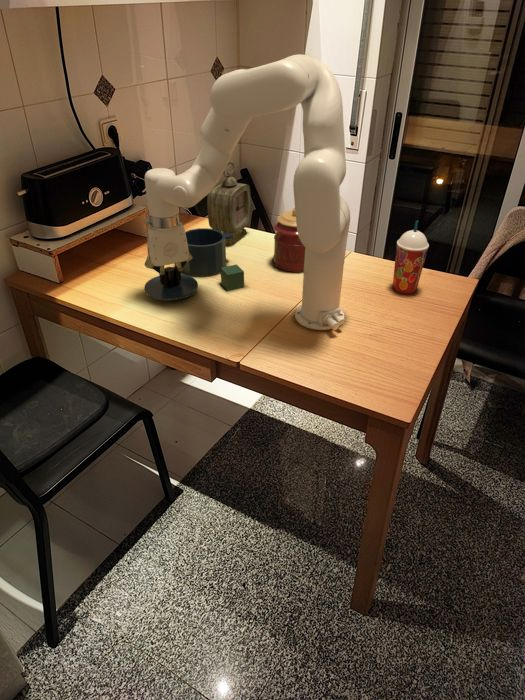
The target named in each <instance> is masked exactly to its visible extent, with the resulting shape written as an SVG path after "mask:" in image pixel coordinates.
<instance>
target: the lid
mask: <svg viewBox="0 0 525 700" xmlns="http://www.w3.org/2000/svg"><path fill="white" fill-rule="evenodd" d="M174 267H175V266H174ZM174 267H173V266H167V267H164V269H165V273H166V275H167V282H168V287H167V288H165V287H164V285H163V284H161V283H160V276H159V275H157V276H154V277H152V278H150V279H149V280H147V281H146V282H145V284H144V286H143V287H144V293H145V294H146V295H147V296H148V297H150V298H152V299H155V300H159V301H177V300H182V299H185V298H188V297H190V296H192V295H194V294H195V293H196V292H197V290H198V289H199V282H198V281H197V279H196V278H194V276H192V275H189V274H185V273H184V274H183V273H181V281H180V285H177V284H176V276H175V268H174Z"/></svg>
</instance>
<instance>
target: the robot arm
mask: <svg viewBox="0 0 525 700" xmlns="http://www.w3.org/2000/svg"><path fill="white" fill-rule="evenodd" d="M209 99H210V105H211V107H210V109H209V111H208V112H207V115H206V117H205V119H204V121H203V122H202V125H201V127H200V130H199V131H200V132H199V134H200V136H201V139H203V142H202V145H201V148H200V150H199V153H198V154H197V156H196V158H195V160H194V162H193V163H192V165H191V166H190V168H188V169H187V170H185V171H183V172H182V173H180V174H176V173H175V171H174V170H173V169H170V168H166V167H155V168H151V169H149V170H147V171H146V172H145V174H144V184H145V193H146V194H145V195H146V202H147V209H148V213H147V217H143V223H144V224H145V225H147V224H148V225H147V231H146V232H147V233H146V247H147V250H146V251H147V256H146V258H145V262H144V267H145V268H147V269H150V270H154V271H155V272H157V273H158V274H159V275H158V276H160V283H161V284H163V285H164V287H165V288H167V287H168V282H167V275H166V273H165V266H169V265H174V268H175V276H176V284H177V285H180V281H181V274H182V272H183V271H182V268H183V267H184V265H185V264H186V263H187V262H188V261H190V260H191V259H192V256H191V254H190V253H189V250H188V243H187V238H186V233H185V232H186V228H185V225H184V223H183V222H182V221H181V220H180V208H182V209H190V208H192V207H194V206H196V205H197V204H198V203H200V202H201V201H202V200H203V199H205V197H208V194H209V193H210V192H211V191H212V190H213V188H214V187H216V186H217V184H218V183H219V180H220V179H221V177H222V175H224V174H223V172H224V170H225V171H226V168H227V167H228V166H229V165H228V162H230V159H231V158H232V156H233V153H234V150H235V148H236V146H237V144H238V142H239V141H240V139H241V138H242V136H243V135H244V133H245V131H246V129H247V128H248V126H249V125H250V122H251V121H252V119H253V118H257V117H261V116H265V115H271V114H275V113H279V112H284V111H287V110H290V109H293V108H295V107H297V106H299V105H300V106H301V108H302V135H303V151H304V153H303V159H301V161H300V162H299V163H298V164H297V166H296V169H295V171H294V175H293V185H292V187H293V200H294V208H295V213H296V225H297V232H298V236H299V239H300V241H301V242H302V244H303V245H304V246H305V260H304V271H303V277H302V293H301V294H302V295H301V296H302V297H301V305H299V306H298V307H297V308H296V310H295V312H294V318H295V321H296V322H297V323H298V324H300V325H301V326H303V327H304V328H307V329H310V330H314V331H328V330H333V331H337V330H338V329H339V328H340V326H341V325H343V324H345V313H344V311H343V310H342V308H341V307H340V303H341V295H342V286H343V277H344V266H345V258H346V251H347V243H348V237H349V230H350V225H351V209H350V207H349V204H348V202H347V201H346V200H345V199H344V197H342V196H341V195H340V193H341V192H340V187H341V185H342V184H343V182H344V180H345V177H346V174H347V160H346V144H345V141H346V140H345V127H344V126H345V125H344V106H343V97H342V92H341V88H340V84H339V82H338V80H337V77H336V75H335V74H334V72H333V71H332V70H331V69H330V68H329V66H327V64H325V63H324V62H323V61H321V60H320V59H318V58H316V57H314V56H310V55H308V54H303V53H301V54H299V53H298V54H293V55H289V56H287V57H284V58H282V59H279V60H276V61H273V62H269V63H266V64H263V65H260V66H256V67H255V66H254V67H252V68H248V69H245V68H239V69H235V70H233V71H229V72H227V73H223V74H222V75H221V76H219V77H217V79H215V82H214V83H213V84H212V86H211V90H210V97H209ZM227 165H228V166H227Z"/></svg>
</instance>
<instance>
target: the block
mask: <svg viewBox="0 0 525 700" xmlns="http://www.w3.org/2000/svg"><path fill="white" fill-rule="evenodd" d="M220 282H221V285H222V286H223V287H224V288H225V289H226V291H228V292H229V291H230V292H231V291H234V290H239V289H243V288H245V271H244V270H243V269H242V268H241V267H240V266H239V265H238V264H232V265H228V266H227V265H226V267H222V268H221V273H220Z"/></svg>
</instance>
